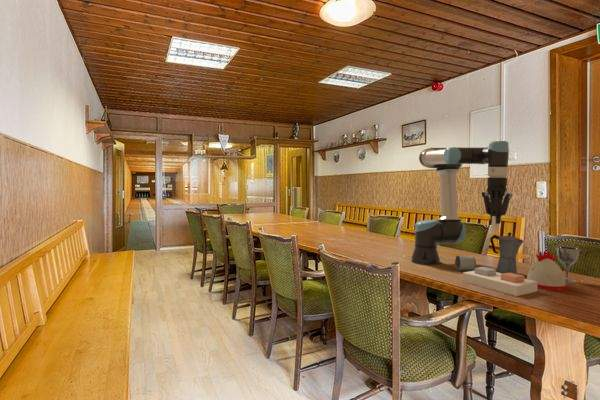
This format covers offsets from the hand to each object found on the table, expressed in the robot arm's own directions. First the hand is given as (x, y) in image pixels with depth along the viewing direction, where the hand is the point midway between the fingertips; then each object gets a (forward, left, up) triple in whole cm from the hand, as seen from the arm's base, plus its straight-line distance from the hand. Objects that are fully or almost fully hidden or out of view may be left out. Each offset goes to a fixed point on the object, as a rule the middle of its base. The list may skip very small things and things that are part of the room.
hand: (494, 230), depth 156 cm
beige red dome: (+13, +15, -23) cm, 31 cm away
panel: (+4, -4, -23) cm, 24 cm away
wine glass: (+13, +32, -23) cm, 42 cm away
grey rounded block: (-2, -4, -20) cm, 21 cm away
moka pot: (-9, +22, -23) cm, 33 cm away
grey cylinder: (-22, +9, -23) cm, 34 cm away
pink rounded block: (+10, -4, -20) cm, 23 cm away
